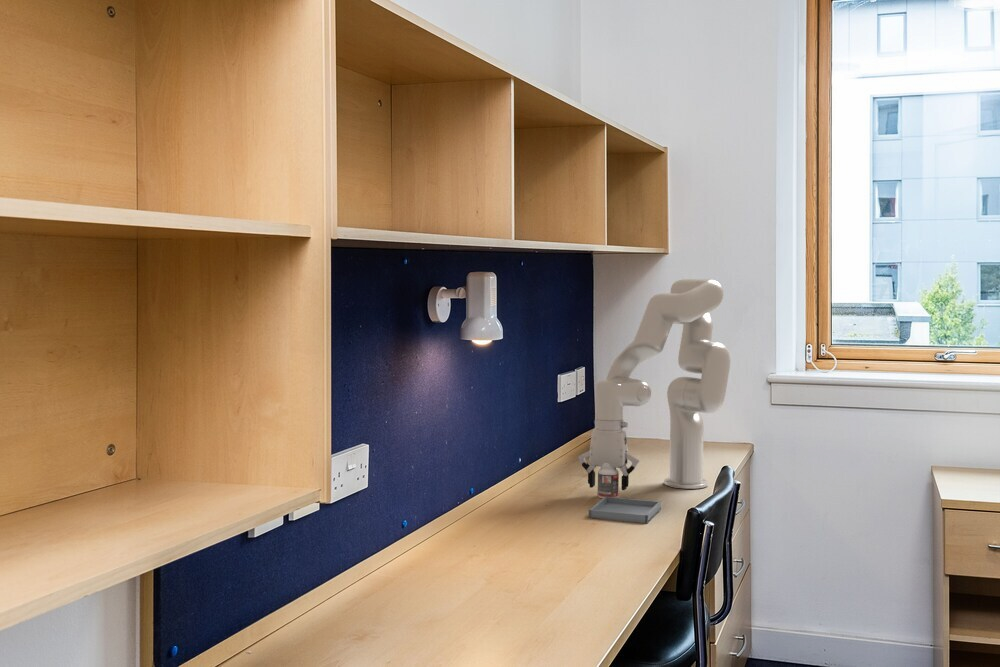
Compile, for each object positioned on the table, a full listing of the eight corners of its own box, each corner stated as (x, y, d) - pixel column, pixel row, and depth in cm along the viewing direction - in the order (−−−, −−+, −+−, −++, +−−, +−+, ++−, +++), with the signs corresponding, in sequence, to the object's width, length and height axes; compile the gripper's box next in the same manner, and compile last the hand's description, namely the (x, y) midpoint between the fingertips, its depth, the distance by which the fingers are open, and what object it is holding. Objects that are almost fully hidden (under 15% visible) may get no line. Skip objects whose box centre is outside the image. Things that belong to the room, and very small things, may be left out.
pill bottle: (617, 500, 264) (617, 464, 264) (596, 499, 265) (597, 463, 265) (619, 495, 270) (619, 460, 269) (598, 494, 271) (599, 459, 270)
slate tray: (605, 503, 260) (605, 496, 260) (661, 509, 254) (661, 501, 254) (588, 517, 245) (588, 509, 245) (647, 523, 239) (647, 515, 239)
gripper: (642, 425, 267) (642, 487, 268) (582, 421, 273) (581, 482, 274) (636, 429, 260) (635, 493, 261) (574, 425, 266) (573, 488, 267)
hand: (608, 487), depth 267 cm, fingers open, 8 cm apart
